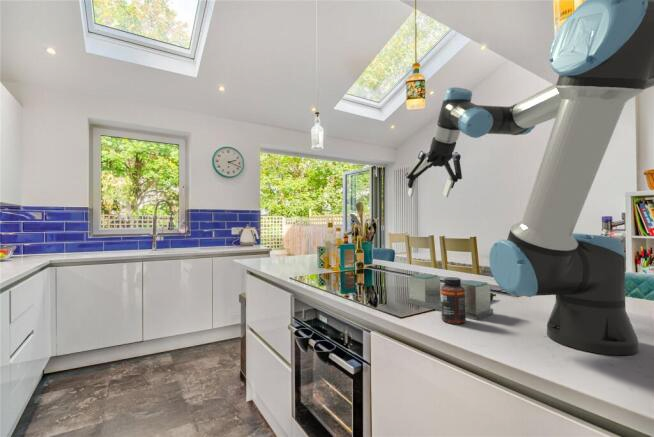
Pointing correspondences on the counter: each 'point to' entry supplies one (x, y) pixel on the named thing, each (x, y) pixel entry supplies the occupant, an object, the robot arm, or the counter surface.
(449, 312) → the supplement bottle
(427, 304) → the rail
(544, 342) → the counter surface
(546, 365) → the counter surface
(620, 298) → the robot arm
